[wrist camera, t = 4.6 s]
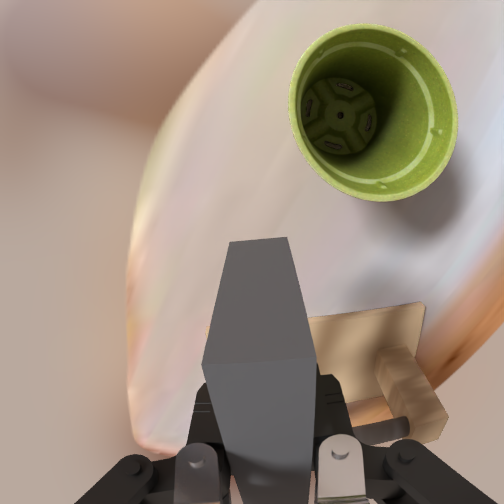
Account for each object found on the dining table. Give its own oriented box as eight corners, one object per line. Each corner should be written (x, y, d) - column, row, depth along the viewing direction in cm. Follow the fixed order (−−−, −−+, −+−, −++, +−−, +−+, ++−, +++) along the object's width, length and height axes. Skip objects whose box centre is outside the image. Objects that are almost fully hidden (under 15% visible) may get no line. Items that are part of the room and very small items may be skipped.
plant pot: (383, 188, 24) (440, 217, 15) (266, 166, 23) (274, 184, 15) (402, 77, 20) (465, 59, 12) (284, 46, 20) (302, 3, 12)
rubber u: (287, 237, 14) (316, 356, 7) (294, 386, 17) (307, 509, 10) (230, 242, 14) (201, 364, 7) (250, 389, 17) (246, 513, 10)
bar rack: (420, 301, 27) (480, 375, 17) (403, 384, 31) (438, 458, 21) (206, 326, 28) (187, 422, 18) (224, 408, 32) (218, 494, 21)
